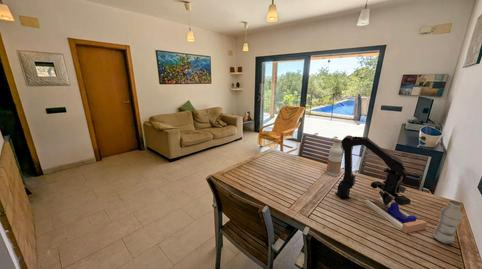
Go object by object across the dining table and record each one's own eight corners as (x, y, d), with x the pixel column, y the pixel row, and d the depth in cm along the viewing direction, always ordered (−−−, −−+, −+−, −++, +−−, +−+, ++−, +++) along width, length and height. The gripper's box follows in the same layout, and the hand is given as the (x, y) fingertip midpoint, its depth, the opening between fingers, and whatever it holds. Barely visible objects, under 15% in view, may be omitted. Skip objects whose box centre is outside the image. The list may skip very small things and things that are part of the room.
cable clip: (386, 212, 106) (388, 202, 105) (394, 211, 106) (396, 202, 105) (405, 228, 95) (408, 217, 93) (413, 227, 95) (416, 217, 93)
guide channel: (405, 233, 91) (407, 226, 90) (364, 203, 114) (365, 197, 113) (425, 229, 94) (427, 222, 93) (381, 200, 116) (382, 194, 115)
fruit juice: (331, 177, 145) (336, 142, 137) (323, 171, 154) (327, 138, 146) (342, 175, 147) (347, 141, 139) (333, 170, 155) (338, 137, 148)
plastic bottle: (428, 235, 90) (439, 199, 85) (441, 234, 91) (453, 198, 85) (443, 246, 84) (456, 208, 78) (456, 245, 84) (471, 207, 79)
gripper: (422, 188, 95) (414, 214, 100) (388, 171, 113) (382, 194, 117) (405, 191, 93) (397, 217, 98) (372, 173, 111) (367, 196, 115)
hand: (385, 205), depth 107 cm, fingers closed
